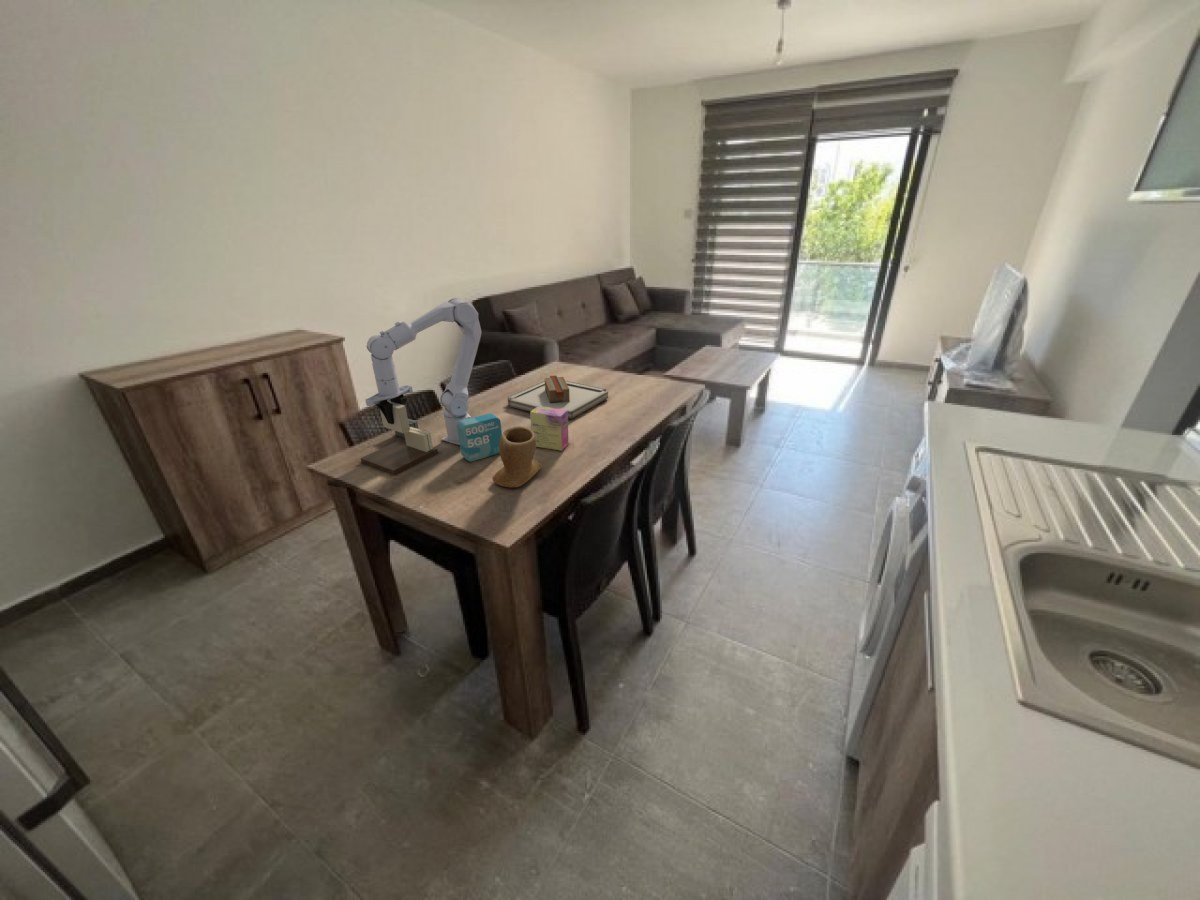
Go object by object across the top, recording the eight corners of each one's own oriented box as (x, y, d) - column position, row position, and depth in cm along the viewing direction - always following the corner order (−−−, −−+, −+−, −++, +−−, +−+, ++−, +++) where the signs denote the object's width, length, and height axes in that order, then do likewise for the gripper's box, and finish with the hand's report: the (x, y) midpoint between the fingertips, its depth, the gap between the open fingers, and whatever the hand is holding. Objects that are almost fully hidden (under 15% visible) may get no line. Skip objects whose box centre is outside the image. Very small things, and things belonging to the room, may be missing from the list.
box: (569, 443, 153) (567, 409, 148) (562, 451, 149) (560, 416, 143) (539, 439, 156) (537, 405, 151) (532, 446, 152) (529, 412, 146)
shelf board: (438, 453, 148) (437, 448, 147) (394, 475, 136) (393, 470, 135) (405, 442, 155) (404, 438, 154) (361, 462, 142) (360, 458, 142)
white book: (410, 430, 144) (405, 405, 140) (403, 433, 142) (398, 408, 138) (390, 424, 148) (385, 400, 144) (383, 427, 146) (378, 402, 142)
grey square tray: (611, 397, 191) (611, 379, 188) (567, 422, 168) (566, 402, 165) (551, 384, 205) (550, 367, 202) (503, 406, 183) (501, 387, 180)
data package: (467, 463, 142) (461, 426, 136) (461, 457, 145) (455, 421, 140) (504, 452, 148) (500, 416, 143) (497, 447, 151) (493, 412, 146)
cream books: (433, 448, 147) (430, 432, 145) (426, 452, 145) (423, 435, 143) (413, 442, 151) (410, 426, 149) (406, 445, 149) (403, 429, 147)
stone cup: (523, 495, 126) (519, 444, 119) (487, 485, 130) (480, 435, 124) (553, 470, 138) (550, 422, 131) (519, 461, 142) (514, 415, 136)
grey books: (420, 437, 158) (417, 421, 155) (413, 441, 156) (410, 424, 153) (402, 432, 162) (398, 415, 159) (395, 435, 160) (392, 418, 157)
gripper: (398, 369, 145) (406, 411, 151) (354, 382, 134) (365, 427, 140) (413, 373, 142) (421, 415, 148) (370, 386, 131) (381, 432, 137)
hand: (395, 421), depth 144 cm, fingers closed on white book, 2 cm apart
